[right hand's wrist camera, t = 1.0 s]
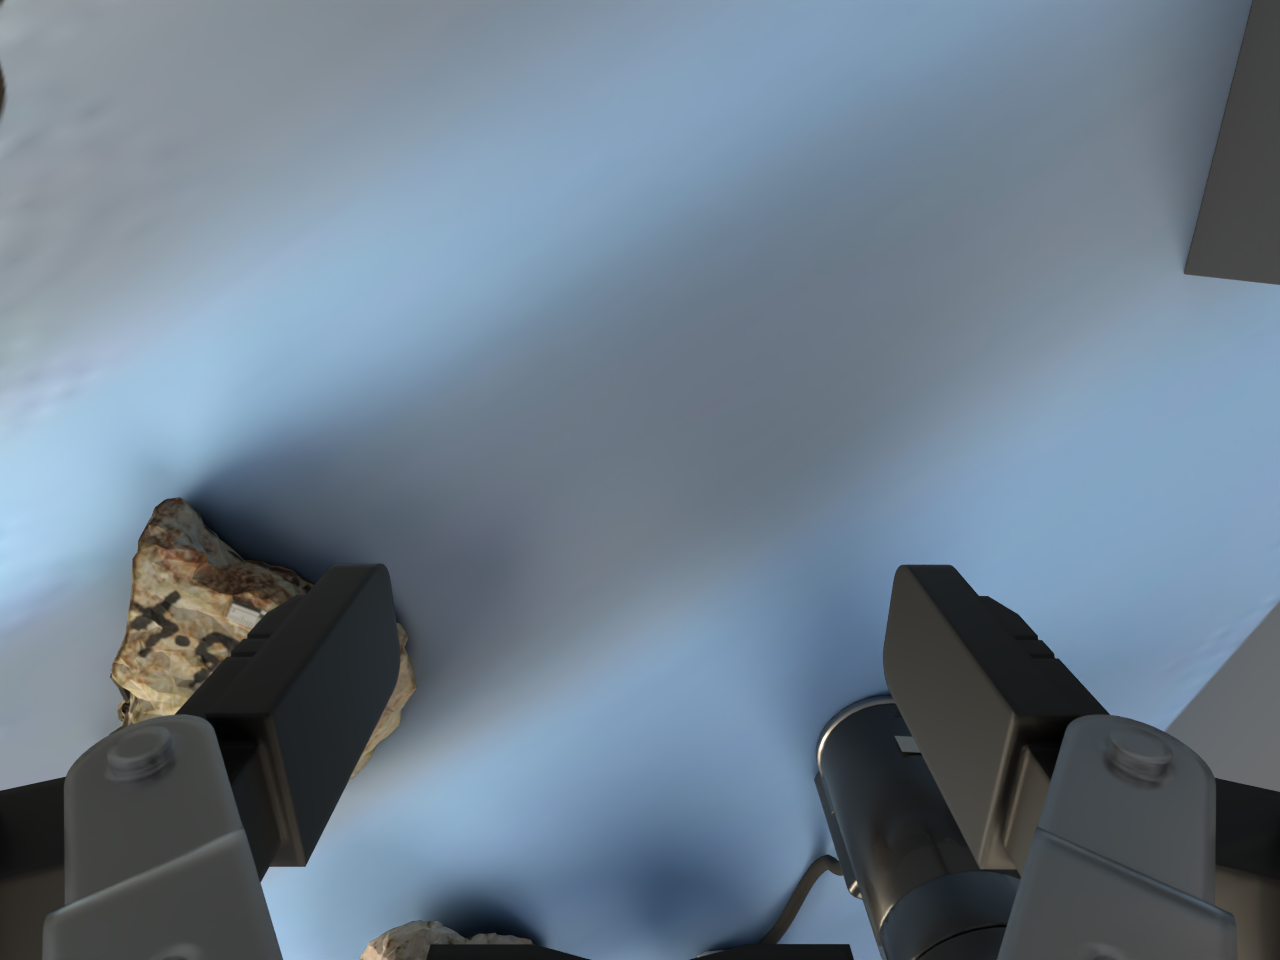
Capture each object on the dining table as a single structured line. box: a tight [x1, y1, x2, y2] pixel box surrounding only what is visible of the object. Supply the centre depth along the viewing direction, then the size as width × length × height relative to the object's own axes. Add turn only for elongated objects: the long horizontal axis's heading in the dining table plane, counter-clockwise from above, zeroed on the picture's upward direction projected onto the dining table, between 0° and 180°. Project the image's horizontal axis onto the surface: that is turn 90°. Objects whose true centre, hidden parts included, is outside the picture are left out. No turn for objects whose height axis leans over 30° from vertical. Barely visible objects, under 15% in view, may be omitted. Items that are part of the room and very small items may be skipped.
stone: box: [109, 497, 417, 782], centre depth 47 cm, size 19×6×25 cm
